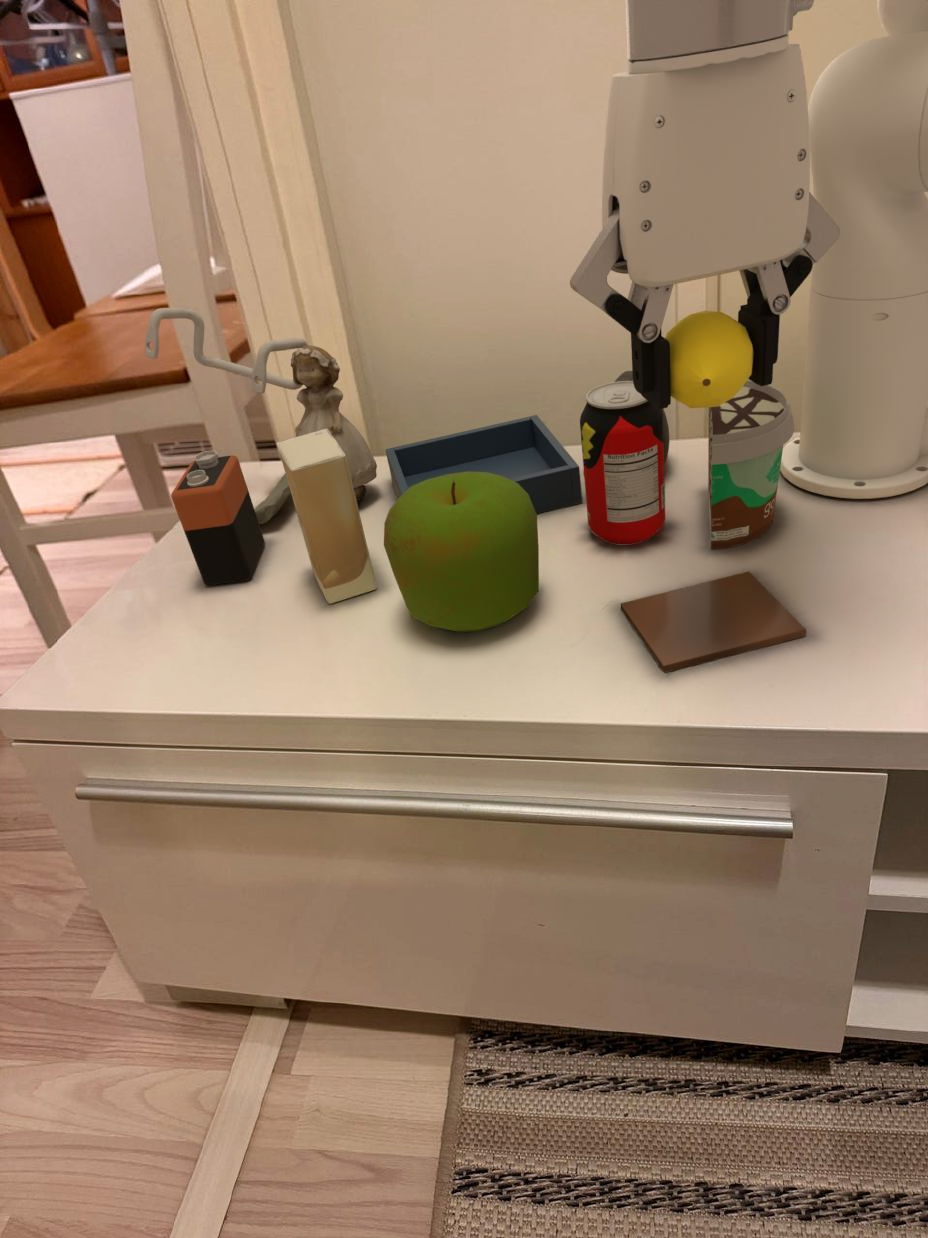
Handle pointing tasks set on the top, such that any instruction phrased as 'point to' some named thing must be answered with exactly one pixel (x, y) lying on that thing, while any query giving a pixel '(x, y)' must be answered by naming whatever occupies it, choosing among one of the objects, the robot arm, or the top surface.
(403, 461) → the bin
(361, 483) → the figurine
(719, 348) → the lemon
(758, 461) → the brown and cream wedge
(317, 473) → the cosmetic box
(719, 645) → the placemat
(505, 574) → the apple
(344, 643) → the top surface
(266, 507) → the stone
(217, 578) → the battery
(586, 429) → the beverage can
